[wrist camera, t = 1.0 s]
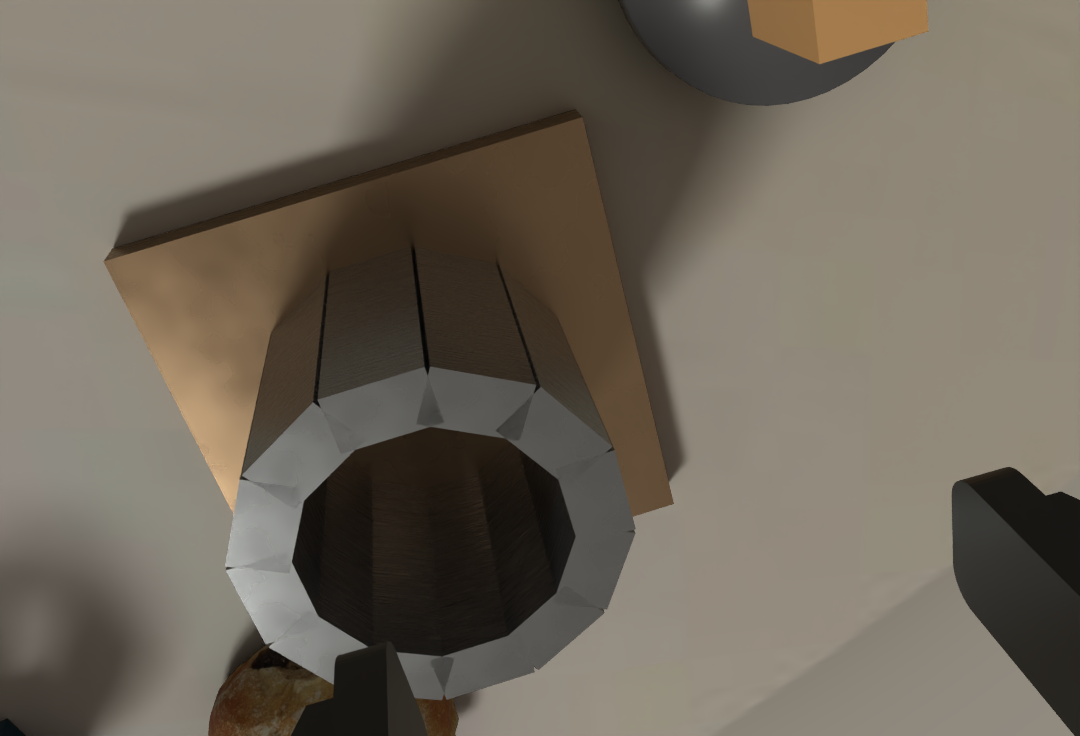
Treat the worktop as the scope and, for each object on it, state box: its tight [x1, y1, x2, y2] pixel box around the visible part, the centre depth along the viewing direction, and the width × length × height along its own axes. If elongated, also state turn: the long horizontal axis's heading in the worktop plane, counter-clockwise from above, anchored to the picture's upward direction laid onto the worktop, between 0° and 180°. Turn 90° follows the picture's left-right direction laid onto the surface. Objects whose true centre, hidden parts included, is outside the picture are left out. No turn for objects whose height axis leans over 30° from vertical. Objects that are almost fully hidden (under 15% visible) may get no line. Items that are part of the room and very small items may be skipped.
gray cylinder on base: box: [104, 109, 674, 700], centre depth 31 cm, size 16×16×10 cm
